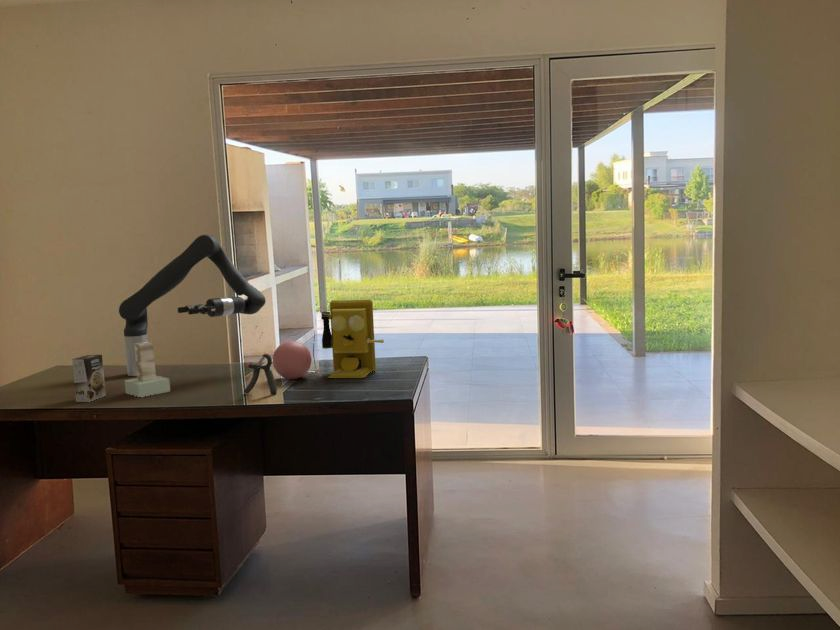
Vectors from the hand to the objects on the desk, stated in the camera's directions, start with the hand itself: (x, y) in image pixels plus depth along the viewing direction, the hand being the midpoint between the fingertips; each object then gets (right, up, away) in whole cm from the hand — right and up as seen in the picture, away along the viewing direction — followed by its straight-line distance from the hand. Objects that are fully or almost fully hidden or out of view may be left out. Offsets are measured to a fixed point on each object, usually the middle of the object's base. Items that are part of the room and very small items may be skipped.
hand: (183, 311), depth 277 cm
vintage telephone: (+64, -26, +8) cm, 70 cm away
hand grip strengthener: (+35, -31, -19) cm, 50 cm away
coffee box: (-29, -33, -16) cm, 47 cm away
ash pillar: (-11, -26, -9) cm, 30 cm away
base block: (-11, -31, -8) cm, 34 cm away
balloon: (+43, -27, +8) cm, 51 cm away
